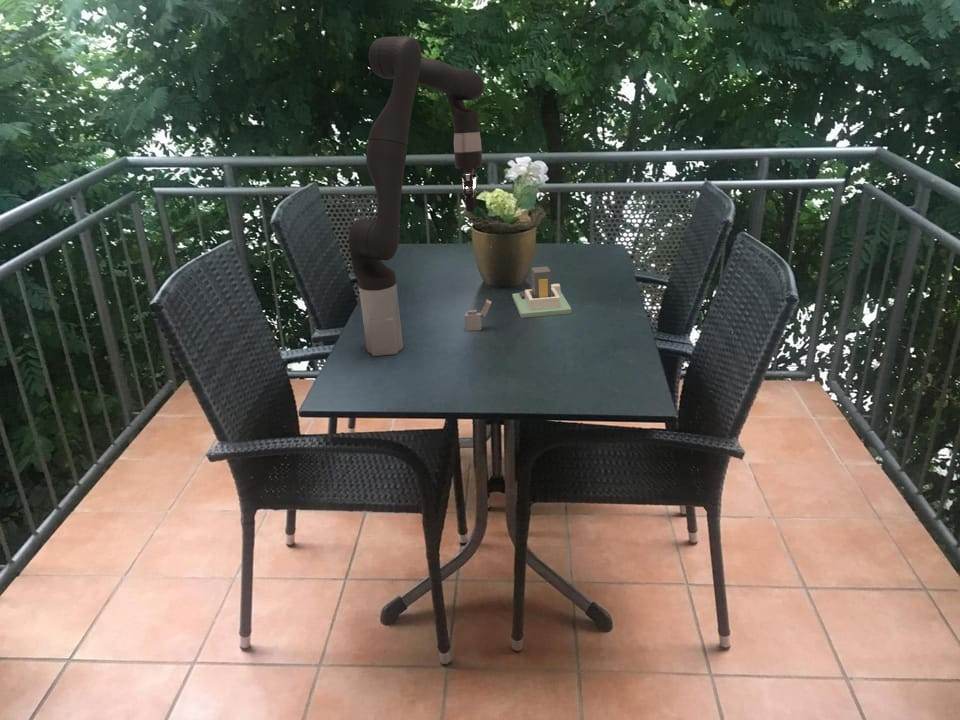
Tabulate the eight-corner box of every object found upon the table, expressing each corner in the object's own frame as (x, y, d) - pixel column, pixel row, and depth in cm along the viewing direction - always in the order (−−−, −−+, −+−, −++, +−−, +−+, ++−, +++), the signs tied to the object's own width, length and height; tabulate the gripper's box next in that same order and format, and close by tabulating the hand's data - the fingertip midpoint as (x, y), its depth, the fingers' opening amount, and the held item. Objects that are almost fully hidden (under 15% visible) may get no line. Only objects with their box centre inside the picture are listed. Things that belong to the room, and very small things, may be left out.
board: (571, 313, 211) (571, 298, 209) (521, 317, 210) (520, 303, 208) (559, 293, 226) (559, 279, 224) (512, 297, 225) (511, 284, 223)
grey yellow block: (551, 306, 213) (551, 272, 209) (535, 308, 213) (534, 273, 209) (548, 300, 218) (547, 266, 214) (532, 301, 217) (531, 267, 213)
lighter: (465, 330, 204) (463, 302, 201) (466, 328, 206) (464, 300, 202) (492, 329, 204) (491, 301, 200) (492, 327, 205) (491, 299, 202)
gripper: (480, 150, 204) (483, 212, 209) (482, 147, 218) (486, 205, 223) (452, 152, 205) (456, 213, 210) (456, 149, 218) (460, 207, 223)
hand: (471, 209), depth 216 cm, fingers open, 8 cm apart
